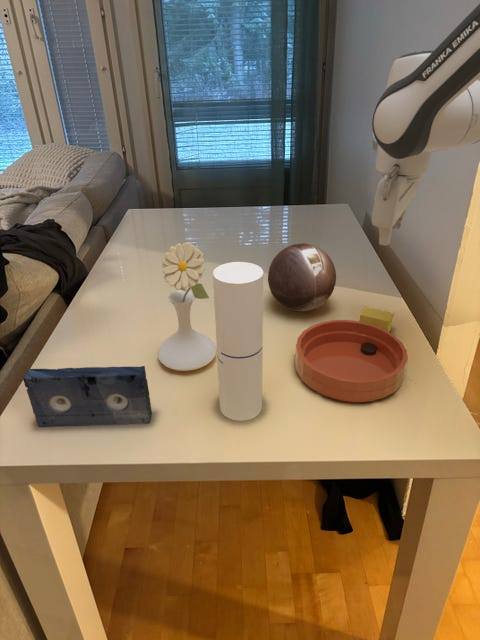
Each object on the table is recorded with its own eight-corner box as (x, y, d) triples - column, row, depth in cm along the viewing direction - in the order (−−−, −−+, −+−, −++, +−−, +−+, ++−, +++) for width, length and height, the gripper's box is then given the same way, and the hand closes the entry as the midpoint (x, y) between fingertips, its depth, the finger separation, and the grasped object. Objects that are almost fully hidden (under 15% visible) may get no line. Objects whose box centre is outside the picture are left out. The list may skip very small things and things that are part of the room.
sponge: (391, 328, 99) (393, 312, 97) (386, 338, 96) (389, 321, 94) (363, 322, 101) (365, 306, 99) (357, 331, 98) (359, 314, 96)
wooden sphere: (302, 331, 98) (306, 266, 91) (254, 306, 108) (254, 245, 100) (346, 307, 107) (353, 246, 99) (298, 286, 116) (301, 228, 109)
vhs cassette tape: (153, 412, 78) (145, 365, 73) (150, 425, 75) (142, 376, 70) (43, 414, 78) (28, 366, 73) (37, 427, 75) (21, 378, 70)
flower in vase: (147, 357, 91) (129, 237, 78) (193, 335, 98) (184, 221, 85) (186, 389, 83) (173, 260, 70) (234, 363, 89) (230, 240, 76)
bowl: (412, 356, 90) (417, 334, 88) (388, 419, 76) (393, 395, 73) (317, 331, 98) (318, 311, 96) (278, 384, 84) (279, 361, 81)
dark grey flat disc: (379, 350, 91) (379, 346, 90) (371, 357, 89) (372, 353, 88) (365, 345, 92) (365, 340, 92) (357, 351, 90) (358, 347, 90)
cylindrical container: (245, 427, 75) (243, 288, 62) (211, 409, 78) (202, 274, 65) (270, 402, 79) (273, 269, 66) (237, 387, 83) (233, 257, 70)
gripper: (408, 175, 71) (394, 258, 78) (431, 149, 87) (418, 221, 94) (367, 171, 74) (357, 252, 81) (397, 147, 89) (386, 217, 96)
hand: (390, 235), depth 88 cm, fingers open, 8 cm apart
